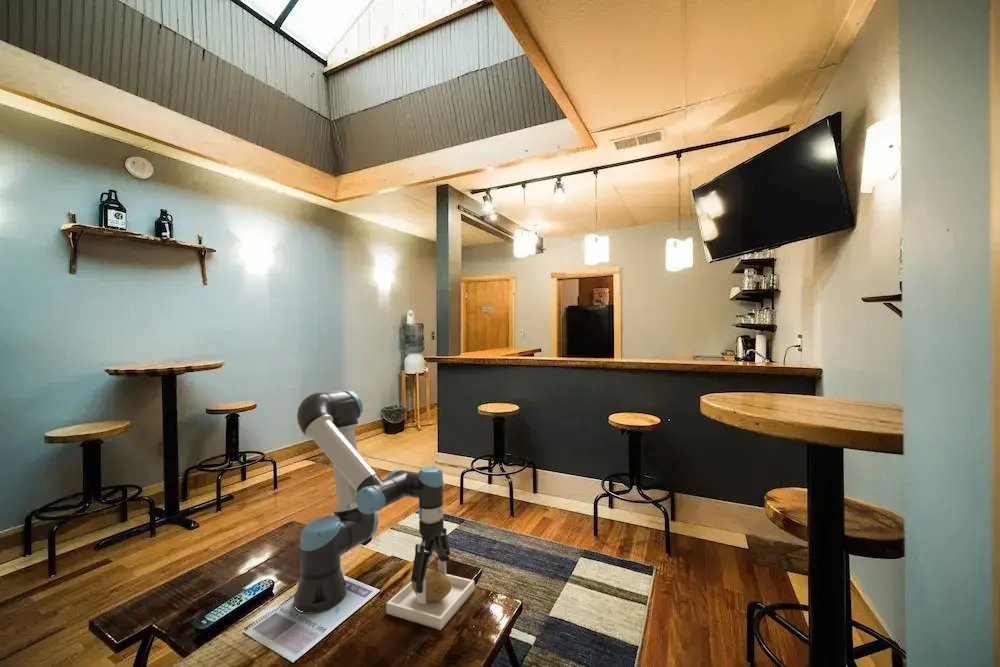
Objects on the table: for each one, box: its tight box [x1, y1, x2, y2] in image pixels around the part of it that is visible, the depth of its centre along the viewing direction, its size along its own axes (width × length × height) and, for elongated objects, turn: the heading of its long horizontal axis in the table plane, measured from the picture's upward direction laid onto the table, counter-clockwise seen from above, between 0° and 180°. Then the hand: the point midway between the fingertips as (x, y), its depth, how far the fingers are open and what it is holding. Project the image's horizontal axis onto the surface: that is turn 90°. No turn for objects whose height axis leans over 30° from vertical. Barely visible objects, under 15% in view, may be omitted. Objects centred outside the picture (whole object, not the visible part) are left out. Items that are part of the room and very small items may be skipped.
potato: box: [412, 567, 451, 602], centre depth 122 cm, size 10×14×8 cm
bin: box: [385, 573, 476, 631], centre depth 122 cm, size 19×20×3 cm
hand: (432, 591), depth 122 cm, fingers open, 11 cm apart
